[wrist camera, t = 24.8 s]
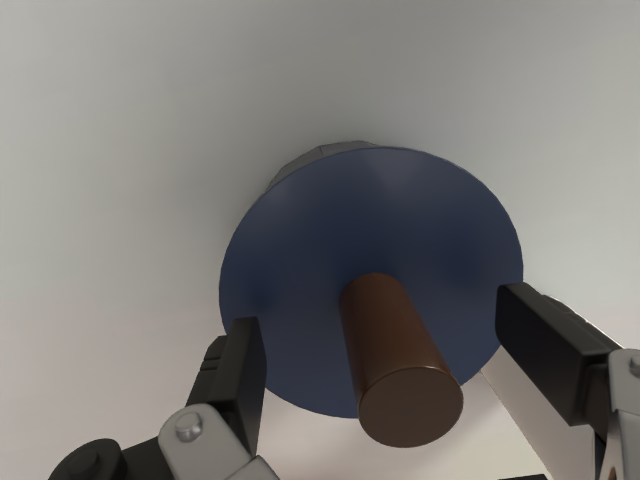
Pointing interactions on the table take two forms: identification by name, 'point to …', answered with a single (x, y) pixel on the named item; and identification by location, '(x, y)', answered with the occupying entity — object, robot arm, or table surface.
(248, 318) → the robot arm
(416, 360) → the lid
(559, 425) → the can
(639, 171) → the table surface
